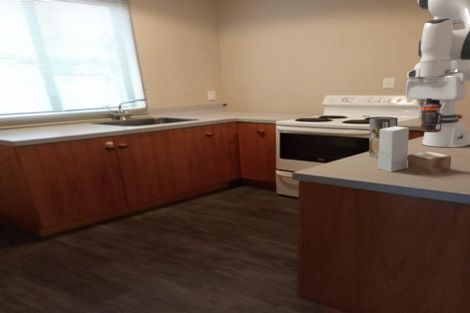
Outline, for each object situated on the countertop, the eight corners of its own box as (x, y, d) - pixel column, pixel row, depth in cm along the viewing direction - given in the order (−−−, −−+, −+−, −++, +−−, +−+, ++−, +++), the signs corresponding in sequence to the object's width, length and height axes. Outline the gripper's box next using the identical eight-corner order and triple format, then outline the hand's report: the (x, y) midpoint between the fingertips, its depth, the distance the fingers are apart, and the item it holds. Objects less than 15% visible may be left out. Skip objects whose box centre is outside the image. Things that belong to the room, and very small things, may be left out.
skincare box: (393, 165, 122) (395, 125, 119) (408, 168, 117) (410, 127, 114) (377, 169, 119) (378, 128, 116) (391, 172, 113) (393, 129, 110)
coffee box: (397, 156, 136) (399, 117, 133) (389, 159, 132) (390, 119, 129) (376, 153, 143) (377, 116, 140) (368, 156, 140) (369, 118, 136)
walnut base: (427, 165, 120) (428, 151, 118) (450, 170, 111) (451, 155, 110) (407, 168, 117) (408, 153, 116) (429, 174, 109) (430, 158, 108)
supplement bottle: (444, 132, 108) (446, 97, 105) (424, 133, 109) (426, 98, 107) (436, 130, 114) (439, 96, 111) (418, 130, 115) (420, 97, 112)
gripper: (473, 68, 98) (469, 114, 101) (417, 72, 118) (415, 111, 120) (456, 69, 97) (453, 116, 99) (403, 73, 116) (401, 112, 119)
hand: (432, 113), depth 110 cm, fingers closed on supplement bottle, 6 cm apart
